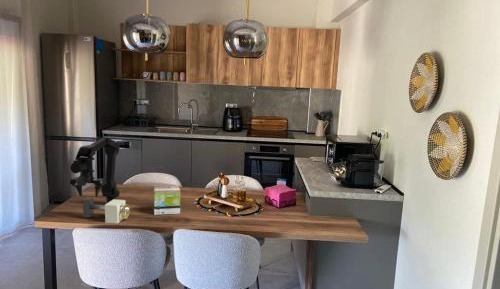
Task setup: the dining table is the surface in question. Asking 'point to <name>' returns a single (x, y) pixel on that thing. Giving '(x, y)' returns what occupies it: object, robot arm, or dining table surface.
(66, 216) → the dining table surface
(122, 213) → the spacer
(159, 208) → the tea box
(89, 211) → the shaft
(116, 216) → the bearing block
